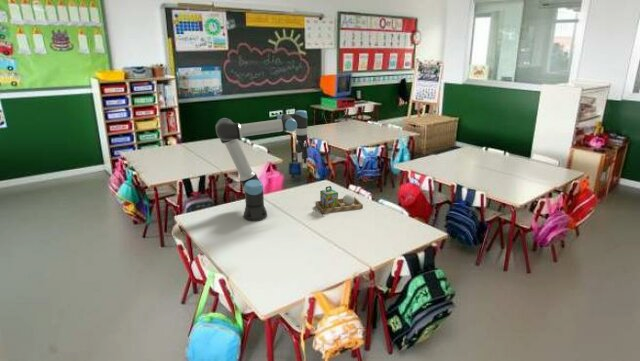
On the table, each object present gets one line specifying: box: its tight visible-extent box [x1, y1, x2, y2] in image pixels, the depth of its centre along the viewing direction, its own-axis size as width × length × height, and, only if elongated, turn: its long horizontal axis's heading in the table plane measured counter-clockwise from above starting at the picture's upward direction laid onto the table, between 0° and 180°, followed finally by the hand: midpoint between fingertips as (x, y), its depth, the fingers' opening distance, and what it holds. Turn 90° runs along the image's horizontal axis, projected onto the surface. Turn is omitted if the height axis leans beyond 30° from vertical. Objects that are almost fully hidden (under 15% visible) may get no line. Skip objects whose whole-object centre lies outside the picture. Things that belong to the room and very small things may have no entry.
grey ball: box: [342, 193, 355, 206], centre depth 281 cm, size 8×8×8 cm
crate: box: [315, 196, 364, 215], centre depth 280 cm, size 29×15×4 cm, turn 107°
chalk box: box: [319, 185, 339, 209], centre depth 276 cm, size 9×9×15 cm
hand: (302, 164), depth 278 cm, fingers open, 13 cm apart
